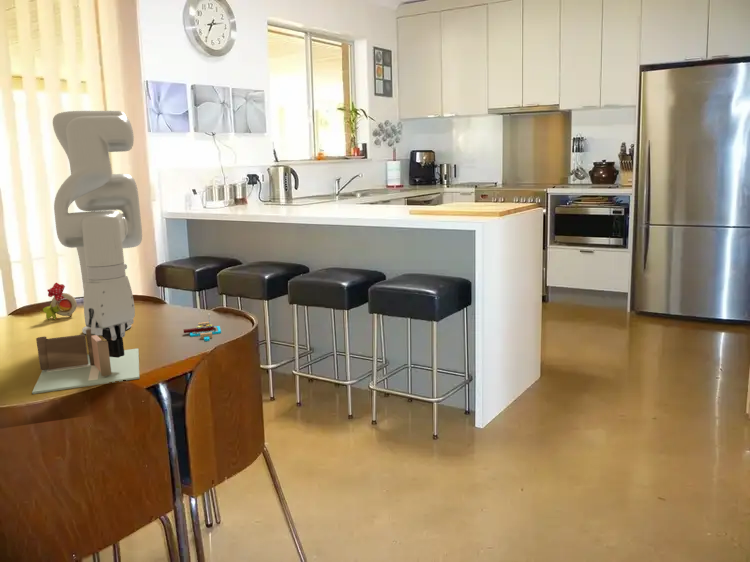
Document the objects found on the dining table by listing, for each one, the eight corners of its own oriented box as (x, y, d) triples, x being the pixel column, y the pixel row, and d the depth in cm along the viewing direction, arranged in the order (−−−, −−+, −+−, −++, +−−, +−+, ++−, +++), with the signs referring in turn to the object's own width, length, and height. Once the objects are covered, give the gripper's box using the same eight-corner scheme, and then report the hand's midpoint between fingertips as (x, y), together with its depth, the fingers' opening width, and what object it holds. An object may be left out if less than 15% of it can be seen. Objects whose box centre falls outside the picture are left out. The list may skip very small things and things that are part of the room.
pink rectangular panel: (102, 363, 148) (98, 332, 147) (112, 375, 139) (108, 341, 137) (92, 365, 147) (88, 333, 146) (102, 377, 138) (98, 343, 136)
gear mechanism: (184, 346, 165) (223, 341, 168) (182, 324, 164) (221, 320, 167) (183, 328, 184) (218, 324, 187) (181, 309, 183) (216, 305, 186)
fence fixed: (41, 370, 146) (36, 335, 145) (102, 362, 150) (97, 327, 149) (40, 373, 144) (35, 337, 143) (101, 364, 148) (97, 329, 147)
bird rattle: (72, 321, 209) (41, 312, 206) (83, 288, 209) (53, 279, 206) (69, 325, 203) (38, 316, 200) (81, 291, 203) (49, 282, 200)
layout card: (47, 361, 155) (47, 359, 155) (138, 349, 161) (138, 347, 161) (32, 394, 131) (32, 391, 131) (139, 378, 138) (139, 376, 138)
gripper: (120, 266, 149) (129, 345, 152) (64, 278, 136) (75, 364, 139) (145, 267, 146) (154, 348, 149) (90, 279, 133) (101, 368, 136)
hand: (116, 355), depth 144 cm, fingers closed
